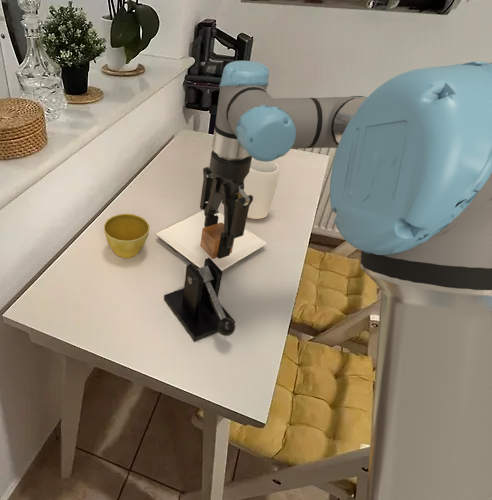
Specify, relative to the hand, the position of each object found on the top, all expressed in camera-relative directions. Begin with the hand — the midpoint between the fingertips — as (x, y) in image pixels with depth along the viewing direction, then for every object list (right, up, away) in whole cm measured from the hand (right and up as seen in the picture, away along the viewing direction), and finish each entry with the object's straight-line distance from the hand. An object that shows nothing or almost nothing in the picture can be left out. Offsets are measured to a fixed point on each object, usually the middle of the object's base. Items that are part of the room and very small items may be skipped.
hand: (215, 248), depth 94 cm
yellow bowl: (-20, -1, +5) cm, 20 cm away
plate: (0, +1, +8) cm, 8 cm away
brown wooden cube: (0, 0, 0) cm, 0 cm away
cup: (+13, +9, +18) cm, 24 cm away
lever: (-3, -10, -15) cm, 18 cm away
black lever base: (-5, -13, -9) cm, 16 cm away
